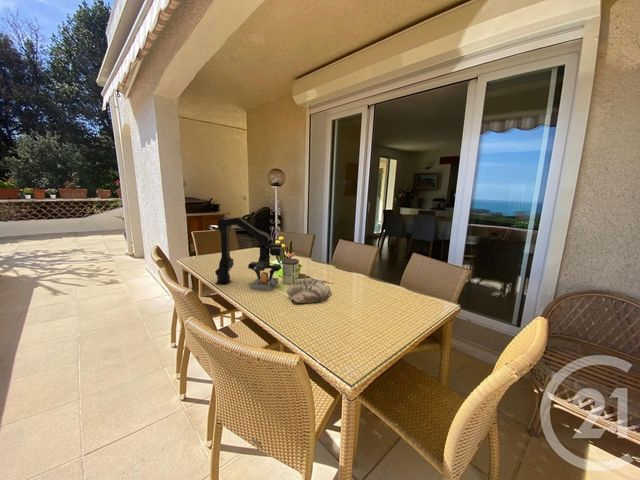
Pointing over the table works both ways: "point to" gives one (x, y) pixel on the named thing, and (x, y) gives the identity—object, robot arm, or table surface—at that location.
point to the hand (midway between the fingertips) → (264, 280)
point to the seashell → (308, 291)
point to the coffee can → (290, 271)
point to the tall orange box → (264, 277)
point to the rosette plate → (264, 284)
